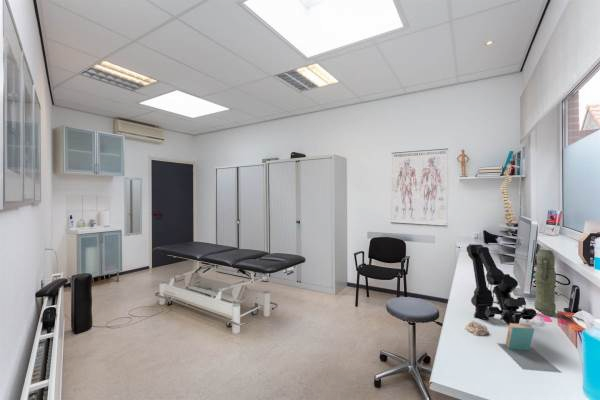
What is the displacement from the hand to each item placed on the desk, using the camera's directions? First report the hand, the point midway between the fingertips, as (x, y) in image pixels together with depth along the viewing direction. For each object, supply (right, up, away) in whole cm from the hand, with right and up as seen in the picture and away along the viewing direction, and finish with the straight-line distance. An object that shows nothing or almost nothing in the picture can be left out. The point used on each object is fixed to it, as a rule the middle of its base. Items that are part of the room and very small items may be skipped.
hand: (517, 332), depth 123 cm
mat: (-1, -8, -6) cm, 10 cm away
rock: (-8, -8, +16) cm, 19 cm away
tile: (0, -6, 0) cm, 6 cm away
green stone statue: (+43, -6, +37) cm, 58 cm away
